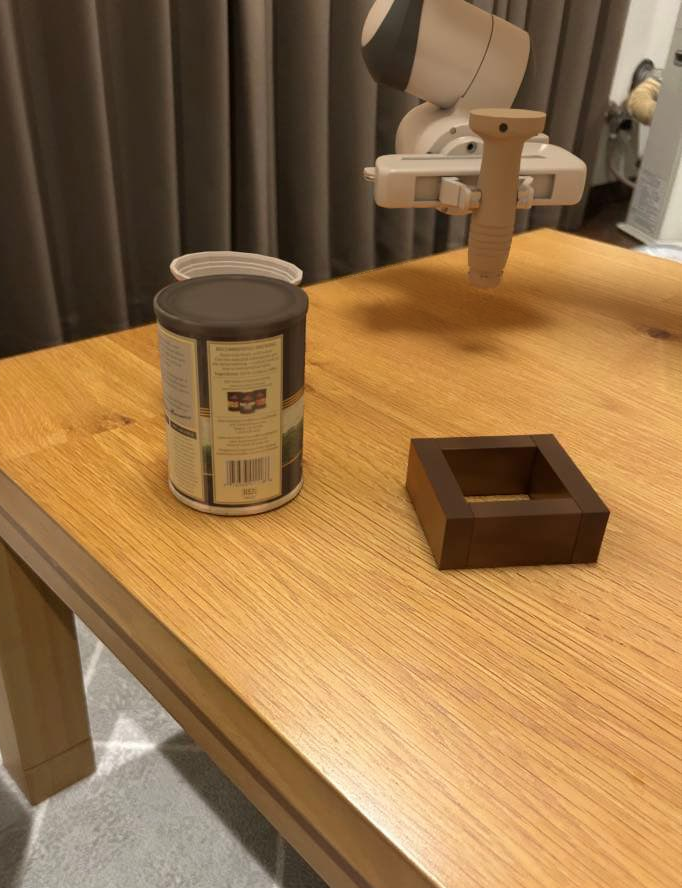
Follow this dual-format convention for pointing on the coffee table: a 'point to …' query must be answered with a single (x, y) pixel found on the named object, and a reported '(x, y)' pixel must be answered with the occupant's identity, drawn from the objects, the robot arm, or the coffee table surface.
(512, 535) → the stand
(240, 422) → the coffee can
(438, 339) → the coffee table surface
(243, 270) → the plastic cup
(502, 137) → the handle
